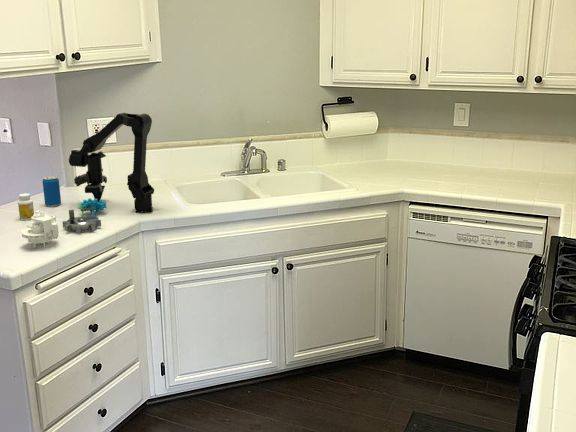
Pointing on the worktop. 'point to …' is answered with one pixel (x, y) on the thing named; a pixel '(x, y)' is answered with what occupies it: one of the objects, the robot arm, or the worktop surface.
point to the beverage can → (51, 191)
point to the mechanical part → (41, 229)
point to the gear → (91, 206)
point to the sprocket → (81, 223)
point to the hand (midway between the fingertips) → (97, 203)
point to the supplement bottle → (25, 207)
